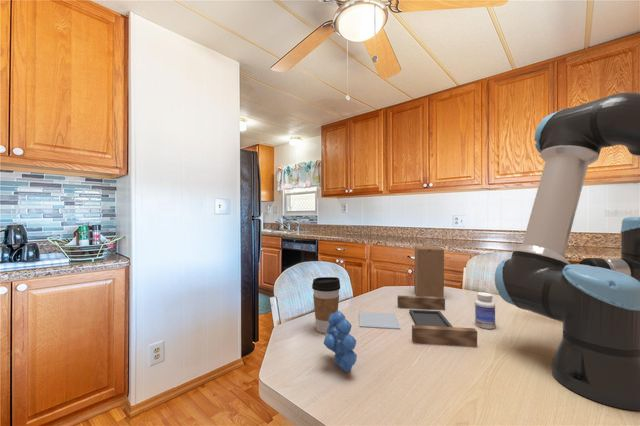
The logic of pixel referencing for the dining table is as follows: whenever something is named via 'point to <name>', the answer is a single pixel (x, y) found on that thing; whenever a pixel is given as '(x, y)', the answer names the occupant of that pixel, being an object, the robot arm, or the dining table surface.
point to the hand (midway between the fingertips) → (523, 270)
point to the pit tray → (429, 318)
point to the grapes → (341, 341)
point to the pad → (378, 320)
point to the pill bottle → (485, 311)
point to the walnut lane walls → (436, 333)
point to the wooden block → (429, 271)
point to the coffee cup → (325, 300)
